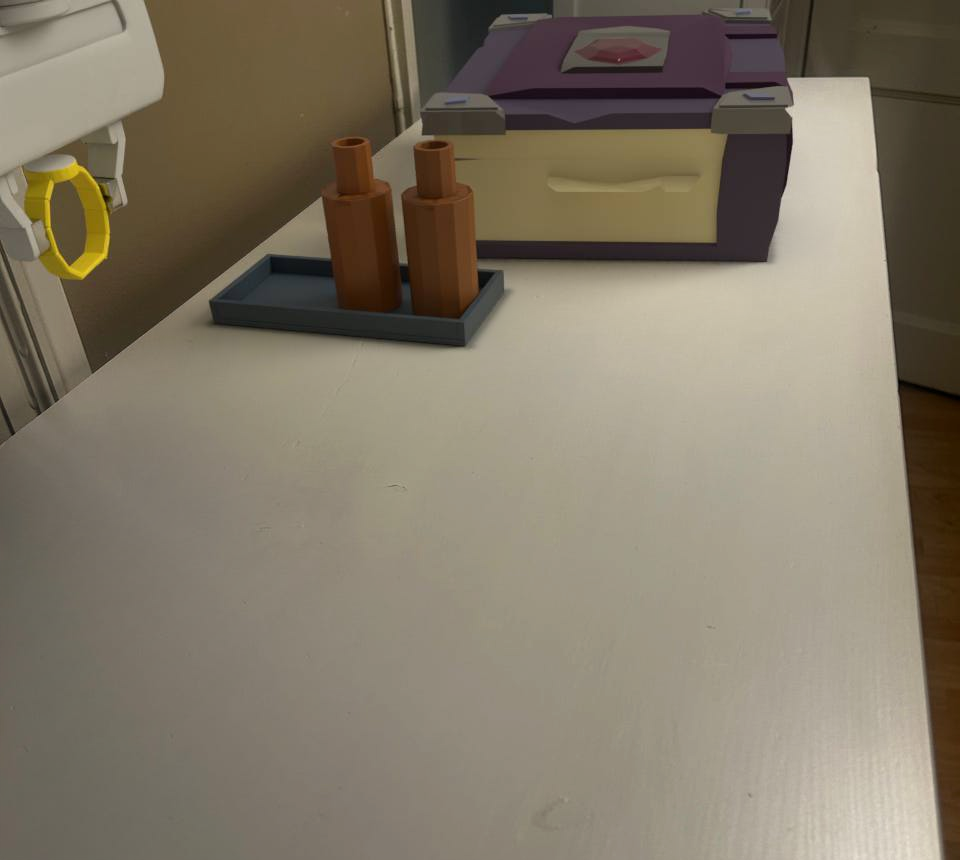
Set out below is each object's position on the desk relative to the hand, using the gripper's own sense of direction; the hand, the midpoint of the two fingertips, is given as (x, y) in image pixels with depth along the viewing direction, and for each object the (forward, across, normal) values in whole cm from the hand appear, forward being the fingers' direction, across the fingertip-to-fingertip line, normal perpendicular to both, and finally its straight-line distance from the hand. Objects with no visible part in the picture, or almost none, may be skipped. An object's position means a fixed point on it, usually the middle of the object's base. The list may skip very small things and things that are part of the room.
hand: (71, 232), depth 55 cm
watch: (+2, 0, 0) cm, 2 cm away
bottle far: (+16, -30, +11) cm, 36 cm away
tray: (+16, -30, +3) cm, 34 cm away
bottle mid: (+16, -30, +4) cm, 34 cm away
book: (+16, -66, +19) cm, 70 cm away
